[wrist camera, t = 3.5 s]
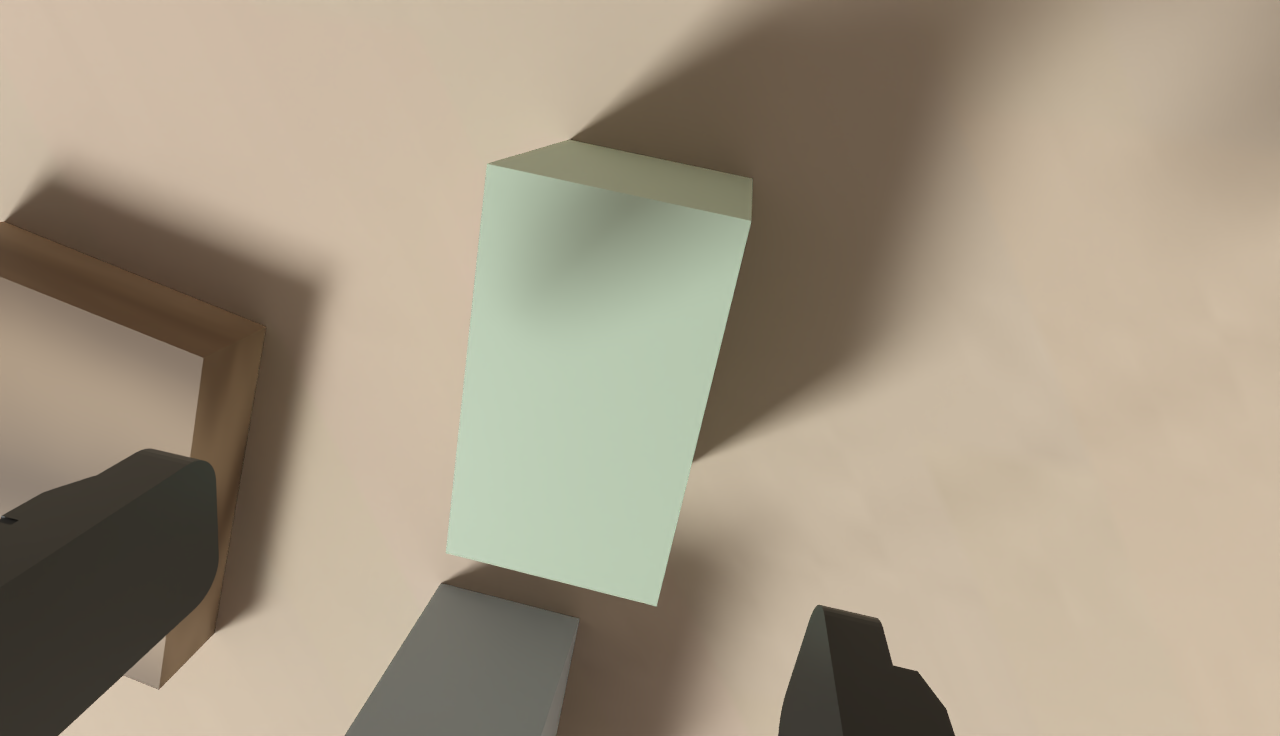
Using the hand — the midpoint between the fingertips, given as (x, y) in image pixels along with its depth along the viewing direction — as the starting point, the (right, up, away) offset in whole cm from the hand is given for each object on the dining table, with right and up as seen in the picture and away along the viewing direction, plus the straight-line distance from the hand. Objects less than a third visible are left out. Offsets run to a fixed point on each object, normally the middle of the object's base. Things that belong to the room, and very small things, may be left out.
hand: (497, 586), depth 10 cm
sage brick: (+2, +4, +10) cm, 11 cm away
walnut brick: (-14, 0, +14) cm, 20 cm away
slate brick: (-3, -8, +15) cm, 17 cm away
